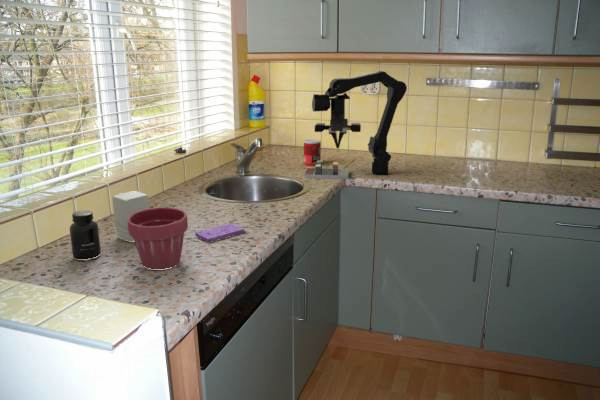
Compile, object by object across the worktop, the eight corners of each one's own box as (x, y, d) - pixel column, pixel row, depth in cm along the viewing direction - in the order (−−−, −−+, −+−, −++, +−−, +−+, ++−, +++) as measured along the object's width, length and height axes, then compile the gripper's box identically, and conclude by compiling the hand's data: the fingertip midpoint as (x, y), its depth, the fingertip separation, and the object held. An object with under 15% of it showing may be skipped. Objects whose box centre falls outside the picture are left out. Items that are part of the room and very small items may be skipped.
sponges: (195, 238, 146) (194, 232, 146) (231, 228, 154) (231, 222, 154) (208, 244, 141) (207, 238, 141) (244, 234, 149) (244, 228, 149)
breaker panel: (348, 172, 219) (349, 160, 217) (347, 179, 208) (348, 166, 207) (307, 171, 221) (307, 159, 220) (304, 177, 211) (304, 165, 209)
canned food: (314, 166, 230) (314, 142, 226) (300, 164, 234) (300, 141, 231) (323, 163, 235) (324, 140, 232) (310, 161, 240) (310, 138, 237)
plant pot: (176, 278, 120) (172, 227, 116) (121, 273, 122) (115, 223, 119) (198, 254, 134) (195, 208, 130) (148, 251, 136) (144, 205, 132)
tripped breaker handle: (338, 170, 215) (338, 162, 214) (337, 172, 213) (338, 163, 211) (333, 170, 215) (333, 162, 214) (332, 171, 213) (333, 163, 212)
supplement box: (153, 236, 146) (149, 194, 143) (129, 243, 141) (125, 200, 137) (139, 230, 151) (135, 189, 147) (116, 237, 146) (111, 195, 142)
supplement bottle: (88, 263, 128) (82, 218, 125) (67, 259, 131) (60, 215, 127) (107, 253, 134) (102, 210, 131) (87, 250, 137) (81, 207, 133)
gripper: (312, 113, 200) (313, 152, 205) (360, 113, 198) (359, 152, 202) (315, 109, 211) (316, 146, 215) (361, 109, 208) (360, 146, 213)
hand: (337, 148), depth 211 cm, fingers closed
